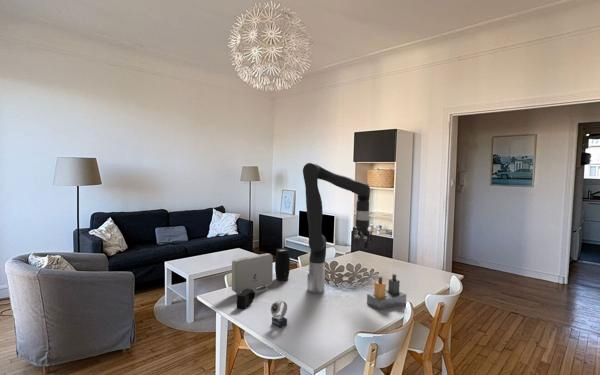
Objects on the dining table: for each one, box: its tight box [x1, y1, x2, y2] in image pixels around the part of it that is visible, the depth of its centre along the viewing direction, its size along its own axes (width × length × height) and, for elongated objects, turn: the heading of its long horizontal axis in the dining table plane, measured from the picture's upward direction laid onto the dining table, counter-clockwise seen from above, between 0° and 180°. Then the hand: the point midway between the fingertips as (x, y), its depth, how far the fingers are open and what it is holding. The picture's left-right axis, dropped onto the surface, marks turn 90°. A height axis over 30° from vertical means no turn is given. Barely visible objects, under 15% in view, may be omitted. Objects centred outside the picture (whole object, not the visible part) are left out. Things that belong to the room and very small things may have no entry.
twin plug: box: [387, 273, 400, 295], centre depth 179 cm, size 4×4×13 cm
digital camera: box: [236, 289, 256, 310], centre depth 171 cm, size 10×5×7 cm, turn 163°
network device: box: [231, 253, 274, 295], centre depth 192 cm, size 26×9×20 cm, turn 131°
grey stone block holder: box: [366, 289, 407, 311], centre depth 177 cm, size 19×10×5 cm, turn 119°
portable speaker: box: [274, 247, 291, 282], centre depth 212 cm, size 9×9×20 cm
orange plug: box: [373, 276, 387, 299], centre depth 175 cm, size 4×4×13 cm
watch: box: [270, 299, 288, 329], centre depth 151 cm, size 6×8×11 cm
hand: (361, 247), depth 186 cm, fingers open, 8 cm apart
